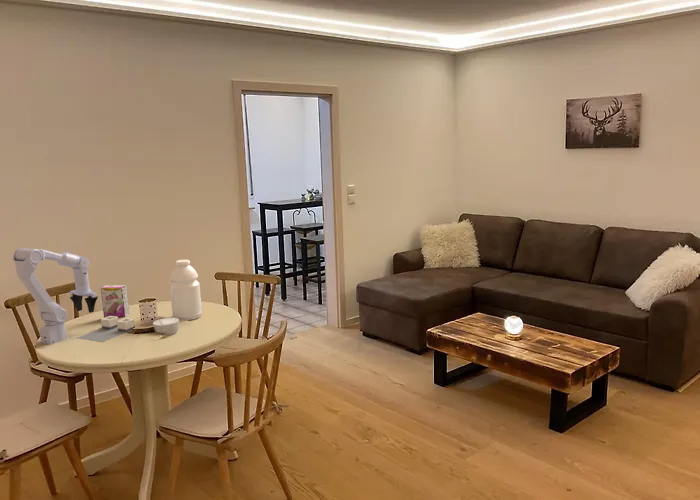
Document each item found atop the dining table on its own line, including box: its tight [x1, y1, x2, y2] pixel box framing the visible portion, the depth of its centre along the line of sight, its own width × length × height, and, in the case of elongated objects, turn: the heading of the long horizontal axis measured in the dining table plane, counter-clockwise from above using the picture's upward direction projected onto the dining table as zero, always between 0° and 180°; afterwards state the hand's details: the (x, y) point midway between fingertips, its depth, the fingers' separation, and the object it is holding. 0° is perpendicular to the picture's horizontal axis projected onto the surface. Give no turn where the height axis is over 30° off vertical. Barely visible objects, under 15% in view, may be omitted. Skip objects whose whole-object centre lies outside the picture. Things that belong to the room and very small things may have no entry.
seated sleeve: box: [117, 317, 136, 333], centre depth 256 cm, size 5×5×4 cm
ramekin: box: [152, 317, 180, 337], centre depth 256 cm, size 11×11×5 cm
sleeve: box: [100, 316, 119, 330], centre depth 261 cm, size 5×5×4 cm
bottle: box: [169, 259, 203, 321], centre depth 276 cm, size 14×14×28 cm
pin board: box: [76, 327, 133, 343], centre depth 253 cm, size 20×16×4 cm
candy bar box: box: [100, 284, 131, 318], centre depth 278 cm, size 11×5×16 cm, turn 84°
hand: (85, 311), depth 260 cm, fingers open, 7 cm apart
